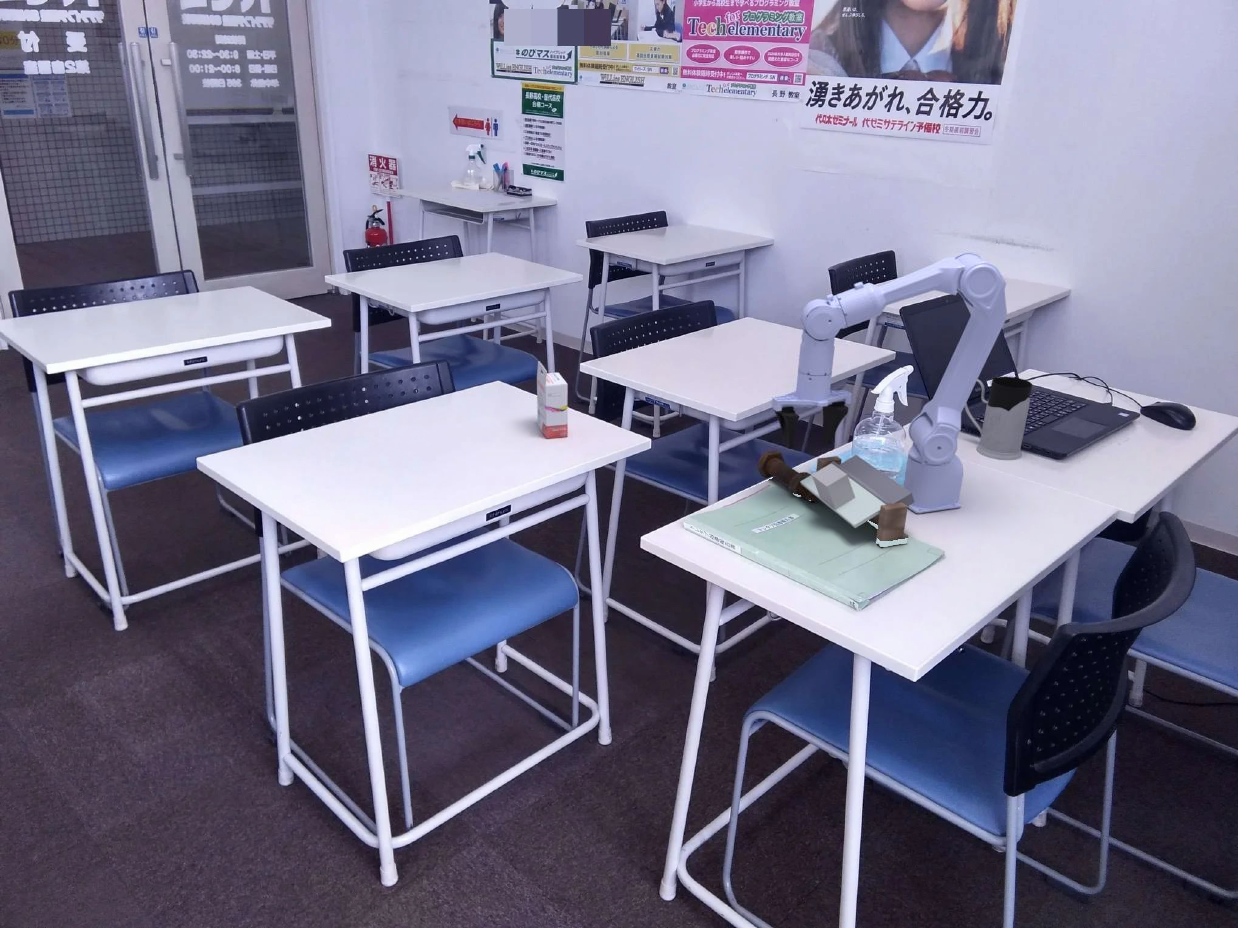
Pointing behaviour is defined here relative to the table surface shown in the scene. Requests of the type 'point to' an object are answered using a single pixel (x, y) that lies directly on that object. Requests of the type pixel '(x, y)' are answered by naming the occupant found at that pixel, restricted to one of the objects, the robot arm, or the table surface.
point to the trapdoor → (864, 491)
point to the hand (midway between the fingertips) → (807, 444)
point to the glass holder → (1004, 418)
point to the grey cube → (833, 486)
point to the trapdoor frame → (890, 514)
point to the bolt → (784, 473)
